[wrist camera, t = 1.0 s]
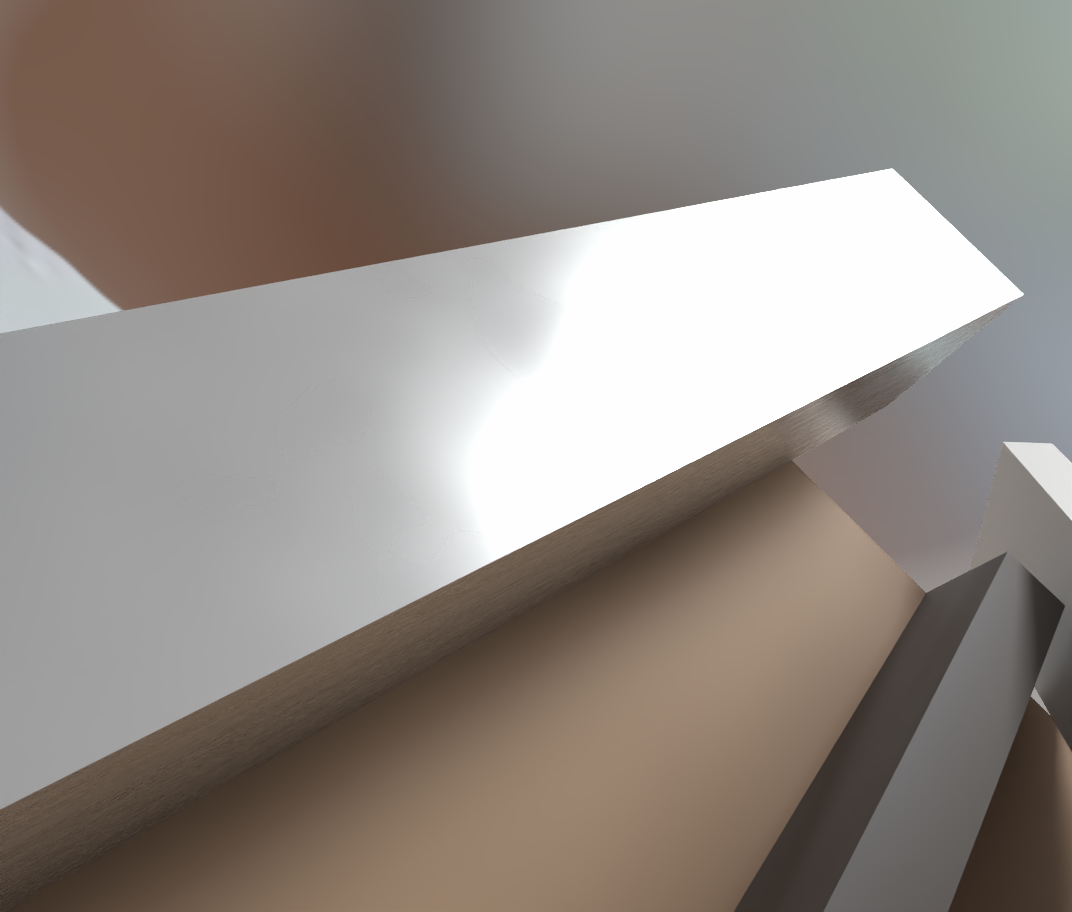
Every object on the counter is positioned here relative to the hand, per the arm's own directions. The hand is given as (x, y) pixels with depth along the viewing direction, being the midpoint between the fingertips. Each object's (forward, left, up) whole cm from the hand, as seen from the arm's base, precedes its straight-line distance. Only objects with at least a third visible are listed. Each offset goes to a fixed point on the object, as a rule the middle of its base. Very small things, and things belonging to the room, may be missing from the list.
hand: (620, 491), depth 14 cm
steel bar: (-1, -8, +3) cm, 9 cm away
